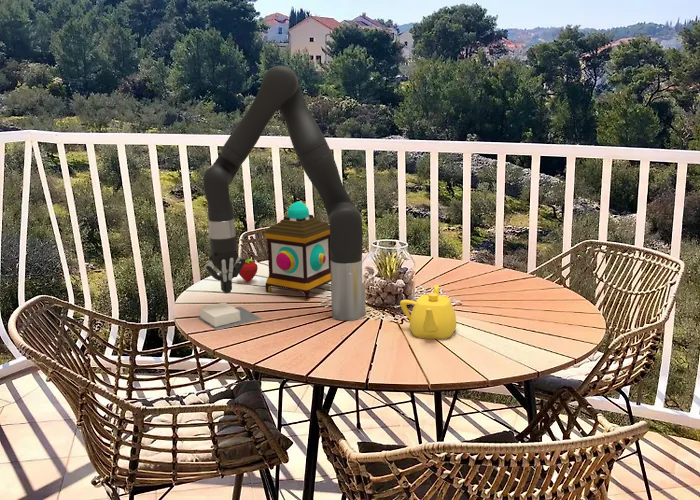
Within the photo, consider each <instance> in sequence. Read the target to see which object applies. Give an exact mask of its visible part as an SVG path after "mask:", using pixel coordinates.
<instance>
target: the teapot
mask: <svg viewBox="0 0 700 500" xmlns="http://www.w3.org/2000/svg"><path fill="white" fill-rule="evenodd" d="M399 305H400V308H401V310H402V312H403V314H404V315H405V316H406V317H407V318H408V320H409V328H410V331H411V333H412V334H413V336H414V337H415V338H420V339H428V340H446V339H449V338H450V337H452V335H453V334H454V333H455V330H456V329H457V328H456V327H457V320H456V319H457V317H456V312H455V310H454V307H453V304H452V302H451V299H450V297H448V296H446V295H441V294H440V285H439V284H434V286H433V292H430V293H428V294H423V295H420V296H419V297H418V298H417V299H416V301H415V300H413V299H412V300H411V299H402V300H400V302H399ZM407 305H411V306H412V305H413V308H412V310H411V314H410V311H409V309H408V306H407Z"/></svg>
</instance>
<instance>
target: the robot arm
mask: <svg viewBox="0 0 700 500" xmlns="http://www.w3.org/2000/svg"><path fill="white" fill-rule="evenodd" d="M278 110H279V112H280V114H281V116H282V118H283V119H284V121H285V124H286V128H287V131H288V134H289V139H290V141H291V145H292V147H293V150H294V152H295V155H296V157H297V160H298V161H299V163H300V165H301V167H302V169H303V171H304V173H305V174H306V176H307V178H308V180H309V181H310V182H311V184H312V185H313V187H314V189H315V190H316V192H318V194H319V196H320V199H321V202H322V203H323V206H324V208H325V211H326V215H327V218H328V224H330V261H331V282H330V288H331V289H330V290H331V292H330V293H331V316H332V318H334V319H335V320H339V321H354V320H358V319H360V318H362V317H363V316H364V315H366V306H367V304H366V283H364V282H363V251H364V249H363V246H364V245H363V243H364V240H363V234H364V233H363V219H362V216H361V213H360V212H359V209H358V208H357V207H356V205H355V204H354V201H352V198H351V197H350V196H349V194H348V192H347V190H346V189H345V187H344V185H343V182H342V179H341V175H340V173H339V170H338V169H339V168H338V166H337V163H336V160H335V158H334V156H333V151H332V150H331V148H330V146H329V143H328V141H327V140H326V138H325V136H324V133H323V131H322V130H321V128H320V126H319V125H318V122H316V120H315V119H314V117H313V114H312V113H311V112H310V110H309V107H308V105H307V103H306V100H305V98H304V95H303V92H302V88H301V86H300V82H299V78H298V76H297V74H296V72H295V71H294V70H293V69H292V68H290V67H289V66H285V65H275V66H273V67H269V69H268V70H267V71H266V72H265V74H264V76H263V79H262V83H261V84H260V86H259V89H258V91H257V94H256V96H255V98H254V100H253V101H252V103H251V105H250V107H248V110H247V111H246V113H245V114H244V116H242V118H241V120H240V121H239V123H238V124H237V126H235V128H234V130H232V133H231V134H230V135H229V136H228V138H227V140H226V141H225V143H224V144H223V147H222V148H221V152H220V154H219V155H218V157H217V158H216V160H215V162H213V163H212V165H210V167H208V168H207V169H206V170H205V172H204V174H203V179H202V184H203V190H204V195H205V199H206V202H207V215H208V238H209V248H210V257H209V261H208V262H207V263H205V264H203V269H204V270H205V271H206V272H207V273H208V274H209V275H210V276H211V277H212V278H213V279H215V280H216V281H218V282H219V281H220V289H221V292H223V293H224V294H230V293H231V292H232V290H233V284H232V283H233V282H232V280H233V279H234V278H238V275H239V272H240V271H241V269H242V267H243V265H244V264H245V262H246V260H247V259H246V258H243V257H241V256H239V253H238V252H237V251H238V250H237V249H238V245H237V244H238V243H237V233H236V231H237V230H236V224H235V218H234V217H235V216H234V206H233V202H232V200H231V199H230V187H229V185H231V183H232V182H233V180H234V179H235V177H236V175H237V173H238V171H239V170H240V167H241V165H242V164H243V163H245V161H246V159H247V158H248V156H249V155H250V154H251V152H252V151H253V149H254V147H255V146H256V145H257V144H258V141H259V139H260V138H261V135H262V134H263V132H264V130H265V129H266V126H267V125H268V124H269V122H270V120H271V119H272V118H273V116H274V115H275V114H276V112H277V111H278ZM214 268H216V269H217V272H218V273H217V272H216V271H215V269H214Z"/></svg>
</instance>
